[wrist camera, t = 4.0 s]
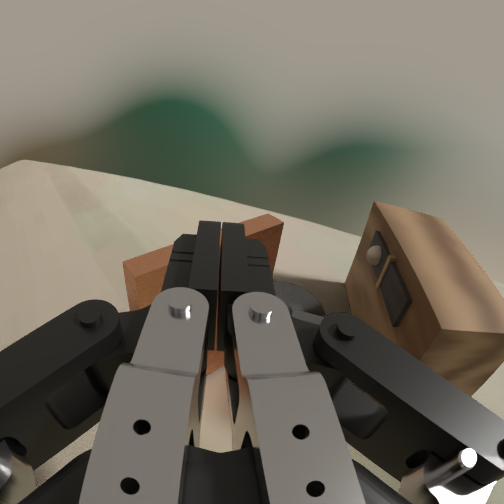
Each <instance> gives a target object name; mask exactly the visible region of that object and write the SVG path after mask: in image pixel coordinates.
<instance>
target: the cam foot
mask: <svg viewBox="0 0 504 504" xmlns="http://www.w3.org/2000/svg"><path fill="white" fill-rule="evenodd" d="M240 223H242V224H244V227H245V237H246V238H250V239H259V240H260V241H261V242H262V243H263V245H264V246H265V247H266V248H267V253H268V260H269V263H270V268H271V273H272V275H273V271H274V266H275V262H276V257H277V253H278V248H279V243H280V239H281V234H282V229H283V225H284V222H282V221H281V220H279V219H277V218H275V217H274V216H272V215H270V214H265V215H262V216H259V217H256V218H253V219H250V220H246V221H243V222H240ZM221 236H222V228H221V230H220V249H221ZM173 245H174V244H173ZM173 245H170V246H167V247H164V248H161V249H158V250H155V251H152V252H149V253H147V254H144V255H141V256H138V257H135V258H132V259H129V260H127V261H124V262H123V269H124V276H125V283H126V290H127V296H128V302H129V308H130V311H135V310H139V309H142V308H145V307H147V306H149V305H150V304H152V302H153V300H154V298H155V297H156V296H157V295H158V294H159V293H161V290H162V286H163V282H164V278H165V274H166V270H167V267H168V263H169V260H170V256H171V253H172V248H173ZM219 262H220V251H219ZM218 280H219V276H218ZM273 284H274V289H275V294H276V297H278V298H279V299H280V300H282V301H283V302H284V303H285V305H286V306H287V308H288V310H289V313H290V315H291V316H292V317H295V318H297V319H300V320H303V321H307V322H311V323H314V324H318V325H320V323H321V321H322V320H323V318H325V312H324V309H323V307H322V305H321V303H320V302H319V301H318V300H317V298H316V297H314V296H313V295H312V294H311V293H310V292H308V291H306V290H305V289H303V288H301V287H299V286H296V285H293V284H290V283H286V282H280V281H273ZM217 312H218V298H217ZM222 366H224V351H217V313H216V330H215V348H214V350H208V354H207V375H209V374H211V373H212V372H214V371H215V370H217V369H219V368H220V367H222Z"/></svg>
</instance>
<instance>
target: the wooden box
mask: <svg viewBox="0 0 504 504" xmlns="http://www.w3.org/2000/svg"><path fill="white" fill-rule="evenodd" d="M345 286H346V290H347V295H348V300H349V305H350V310H351V315H353V316H356V317H358V318H359V319H361V320H362V321H364V322H365V323H367V324H368V325H369V326H371V327H372V328H374V329H375V330H377V331H378V332H379V333H381V334H382V335H384V336H385V337H387V338H388V339H389V340H391V341H392V342H394V343H395V344H397V345H398V346H399V347H401V348H402V349H404V350H405V351H407V352H408V353H409V354H411V355H412V356H414V357H415V358H417V359H418V360H419V361H421V362H422V363H424V364H425V365H426V366H428V367H429V368H431V369H432V370H434V371H435V372H436V373H438V374H439V375H441V376H442V377H443V378H445V379H446V380H448V381H449V382H451V383H452V384H453V385H455V386H456V387H458V388H459V389H460V390H462V391H463V392H465V393H466V394H467V395H469V396H470V397H471V396H472V395H473V394H474V393H475V392H476V391H477V390H478V389H479V388H480V387H481V386H482V385H483V384H484V383H485V382H486V381H487V379H488V378H489V377H490V376H491V375H492V374H493V373H494V372H495V371H496V370H497V368H498V367H499V366H500V365H501V364H502V363H503V362H504V299H503V297H502V296H501V294H500V293H499V291H498V290H497V288H496V287H495V285H494V284H493V282H492V281H491V280H490V278H489V277H488V276H487V274H486V273H485V271H484V270H483V269H482V267H481V266H480V265H479V263H478V262H477V261H476V259H475V258H474V257H473V255H472V254H471V253H470V252H469V250H468V249H467V248H466V247H465V245H464V244H463V243H462V242H461V240H460V239H459V238H458V237H457V236H456V234H455V233H454V232H453V231H452V230H451V228H450V227H449V226H448V225H447V224H446V223H445V222H444V220H443V219H440V218H437V217H434V216H430V215H427V214H423V213H419V212H416V211H412V210H408V209H405V208H401V207H397V206H393V205H389V204H385V203H381V202H377V201H374V203H373V206H372V209H371V212H370V215H369V218H368V221H367V224H366V227H365V230H364V233H363V236H362V238H361V241H360V244H359V247H358V250H357V252H356V255H355V258H354V260H353V263H352V266H351V268H350V271H349V274H348V276H347V279H346V281H345ZM364 393H365V394H366V395H367V396H369V397H370V398H371V399H373V400H374V401H375V402H376V403H378V404H379V405H381V406H382V407H384V406H383V405H382V404H381V403H379V402H378V401H377V400H375V399H374V398H373V397H371V396H370V395H369V394H367V393H366V392H365V391H364Z"/></svg>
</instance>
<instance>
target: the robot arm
mask: <svg viewBox="0 0 504 504" xmlns="http://www.w3.org/2000/svg"><path fill="white" fill-rule="evenodd" d="M220 230H221V222H215V221H199V226H198V232H197V235H192V234H182V235H181V236H180V237H179V238H178V239H177V240H176V241H175V242H174V245H173V248H172V253H171V256H170V260H169V263H168V267H167V270H166V274H165V278H164V282H163V286H162V290H161V293H159V294H158V295H157V296H156V297H155V298H154V300H153V302H152V304H150V305H149V306H147V307H145V308H142V309H139V310H135V311H129V312H122V313H118V311H117V310H116V308H115V307H114V306H113V305H112V304H111V303H109V302H107V301H103V300H88V301H84V302H81V303H79V304H77V305H75V306H74V307H72V308H70V309H69V310H67V311H65V312H64V313H62V314H60V315H59V316H57V317H55V318H54V319H52V320H50V321H49V322H47V323H45V324H44V325H42V326H41V327H39V328H37V329H36V330H34V331H32V332H31V333H29V334H28V335H26V336H24V337H23V338H21V339H20V340H18V341H16V342H15V343H13V344H12V345H10V346H8V347H7V348H5V349H4V350H2V351H1V352H0V504H485V502H486V500H487V498H488V495H489V493H490V491H491V488H492V486H493V484H494V483H495V482H496V481H498V480H499V479H501V478H503V477H504V420H503V419H501V418H500V417H498V416H497V415H496V414H494V413H493V412H491V411H490V410H489V409H487V408H486V407H484V406H483V405H482V404H480V403H479V402H477V401H476V400H475V399H473V398H472V397H470V396H469V395H467V394H466V393H465V392H463V391H462V390H460V389H459V388H458V387H456V386H455V385H453V384H452V383H451V382H449V381H448V380H446V379H445V378H443V377H442V376H441V375H439V374H438V373H436V372H435V371H434V370H432V369H431V368H429V367H428V366H426V365H425V364H424V363H422V362H421V361H419V360H418V359H417V358H415V357H414V356H412V355H411V354H409V353H408V352H407V351H405V350H404V349H402V348H401V347H399V346H398V345H397V344H395V343H394V342H392V341H391V340H389V339H388V338H387V337H385V336H384V335H382V334H381V333H379V332H378V331H377V330H375V329H374V328H372V327H371V326H369V325H368V324H367V323H365V322H364V321H362V320H361V319H359V318H358V317H356V316H353V315H350V314H347V313H332V314H329V315H327V316H326V317H325V318H323V320H322V321H321V323H320V325H318V324H314V323H311V322H307V321H303V320H300V319H297V318H295V317H292V316H291V315H290V313H289V310H288V308H287V306H286V305H285V303H284V302H283V301H282V300H280V299H279V298H278V297H276V294H275V289H274V284H273V279H272V273H271V268H270V263H269V260H268V253H267V248H266V247H265V246H264V245H263V243H262V242H261V241H260V240H259V239H250V238H246V237H245V227H244V224H242V223H228V222H223V224H222V236H221V249H220ZM219 251H220V262H219ZM218 276H219V280H218ZM217 298H218V312H217ZM216 313H217V351H224V366H225V369H226V372H225V375H226V384H227V393H228V402H229V410H230V419H231V427H232V451H230V452H224V453H217V452H213V451H209V450H205V449H202V448H199V443H200V427H201V418H202V409H203V401H204V393H205V385H206V377H207V354H208V350H214V348H215V330H216ZM349 380H350V381H352V382H353V383H354V384H356V385H357V386H358V387H360V388H361V389H362V390H363V391H365V392H366V393H367V394H369V395H370V396H371V397H373V398H374V399H375V400H377V401H378V402H379V403H381V404H382V405H383V406H384V407H382V406H381V405H379V404H378V403H376V402H375V401H374V400H373V399H371V398H370V397H369V396H367V395H366V394H365V393H363V392H362V391H361V390H359V389H358V388H357V387H355V386H354V385H353V384H352V383H350V382H349ZM99 421H100V423H99V426H98V430H97V433H96V437H95V440H94V444H93V447H92V449H90V450H88V451H86V452H84V453H82V454H80V455H79V456H77V457H76V458H74V459H73V460H72V461H70V462H69V463H68V464H67V465H66V466H64V467H63V468H62V469H61V470H59V471H58V472H57V473H56V474H54V475H53V476H52V477H51V478H49V479H48V480H47V481H46V482H44V483H43V484H42V485H41V486H39V487H38V488H37V489H36V490H35V488H36V483H35V480H34V473H33V471H34V470H35V469H36V468H38V467H39V466H41V465H42V464H43V463H45V462H46V461H47V460H49V459H50V458H52V457H53V456H54V455H56V454H57V453H58V452H60V451H61V450H62V449H64V448H65V447H66V446H68V445H69V444H70V443H72V442H73V441H74V440H76V439H77V438H78V437H80V436H81V435H82V434H84V433H85V432H86V431H88V430H89V429H90V428H92V427H93V426H94V425H96V424H97V423H98V422H99ZM346 442H347V443H349V444H350V445H351V446H353V447H354V448H355V449H356V450H358V451H359V452H360V453H362V454H363V455H364V456H366V457H367V458H368V459H369V460H371V461H372V462H374V463H375V464H376V465H378V466H379V467H380V468H382V469H383V470H384V471H386V472H387V473H389V474H390V475H391V476H393V477H394V478H396V479H397V480H398V481H400V482H401V485H400V489H399V491H398V493H397V492H396V491H395V490H393V489H392V488H391V487H389V486H388V485H387V484H385V483H384V482H383V481H382V480H380V479H379V478H378V477H376V476H375V475H374V474H373V473H371V472H370V471H369V470H368V469H366V468H365V467H364V466H362V465H361V464H360V463H358V462H356V461H355V460H353V459H351V456H350V453H349V450H348V447H347V444H346ZM31 492H32V493H31Z"/></svg>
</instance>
